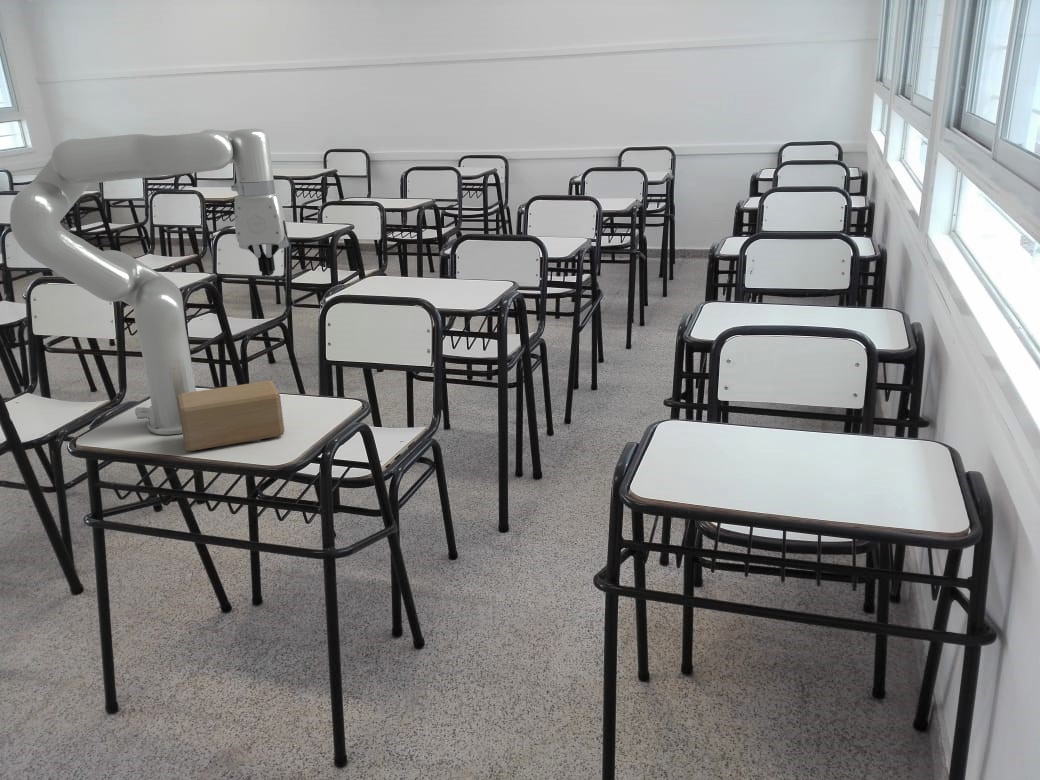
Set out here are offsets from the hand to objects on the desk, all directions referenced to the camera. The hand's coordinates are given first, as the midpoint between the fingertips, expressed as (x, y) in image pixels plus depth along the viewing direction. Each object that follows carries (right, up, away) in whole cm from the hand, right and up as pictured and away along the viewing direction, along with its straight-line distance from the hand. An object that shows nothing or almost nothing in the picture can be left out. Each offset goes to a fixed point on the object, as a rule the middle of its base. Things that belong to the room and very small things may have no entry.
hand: (267, 274), depth 186 cm
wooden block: (+4, -29, -3) cm, 29 cm away
